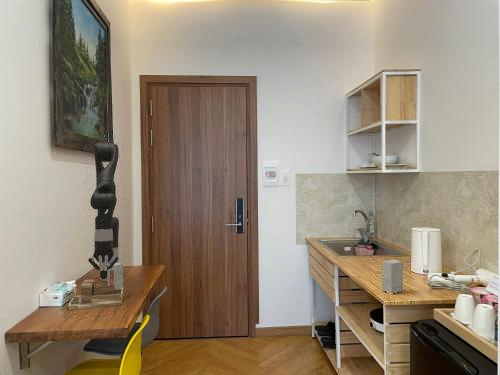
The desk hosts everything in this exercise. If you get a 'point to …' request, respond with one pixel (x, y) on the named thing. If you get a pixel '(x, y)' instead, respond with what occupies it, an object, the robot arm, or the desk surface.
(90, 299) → the tunnel board
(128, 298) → the desk surface
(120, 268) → the skincare box
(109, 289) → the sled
